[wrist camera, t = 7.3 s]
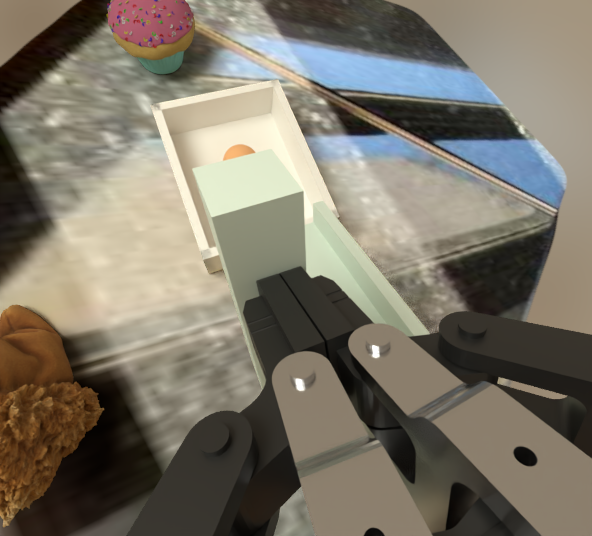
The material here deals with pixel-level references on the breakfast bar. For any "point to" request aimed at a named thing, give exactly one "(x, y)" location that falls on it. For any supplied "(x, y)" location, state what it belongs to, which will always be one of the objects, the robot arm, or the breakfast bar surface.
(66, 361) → the stuffed squirrel
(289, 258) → the tilting chute
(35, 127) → the breakfast bar surface
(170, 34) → the cupcake
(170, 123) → the tub
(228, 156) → the ball
